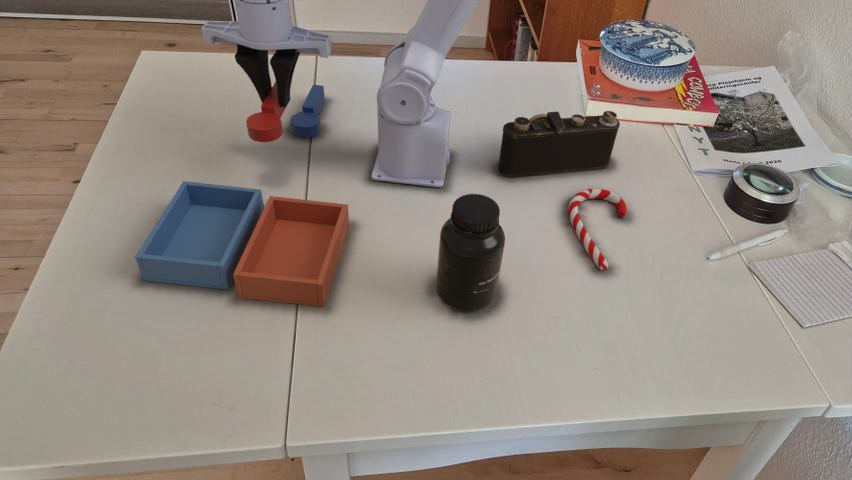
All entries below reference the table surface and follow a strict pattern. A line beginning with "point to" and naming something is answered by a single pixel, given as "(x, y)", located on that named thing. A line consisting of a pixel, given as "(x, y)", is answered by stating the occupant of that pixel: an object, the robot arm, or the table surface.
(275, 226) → the red bin
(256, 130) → the red spoon
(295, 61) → the robot arm
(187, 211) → the blue bin
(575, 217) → the candy cane
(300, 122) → the blue spoon
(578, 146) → the camera
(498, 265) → the supplement bottle
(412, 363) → the table surface
